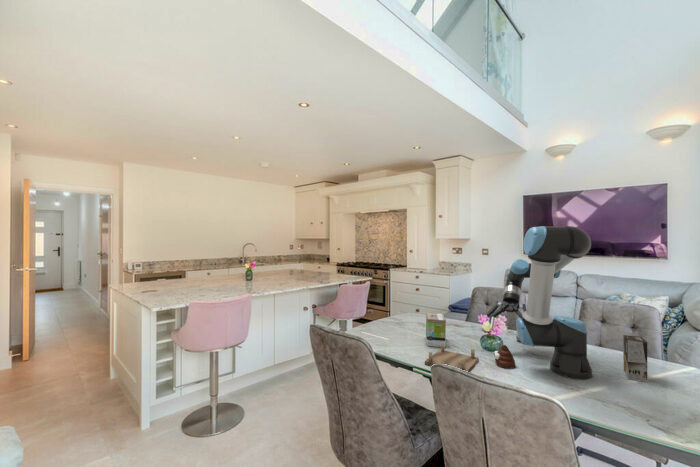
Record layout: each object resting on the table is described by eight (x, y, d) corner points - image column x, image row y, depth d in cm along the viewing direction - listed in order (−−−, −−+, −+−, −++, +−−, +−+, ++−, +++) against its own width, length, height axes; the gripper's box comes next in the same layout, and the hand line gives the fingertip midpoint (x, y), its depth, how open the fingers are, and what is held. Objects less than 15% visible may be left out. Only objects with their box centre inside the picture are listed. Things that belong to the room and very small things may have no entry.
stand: (478, 360, 151) (478, 349, 151) (466, 374, 136) (466, 361, 136) (439, 352, 162) (439, 341, 162) (424, 364, 147) (424, 352, 147)
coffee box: (648, 382, 128) (647, 342, 128) (627, 379, 131) (626, 339, 131) (642, 374, 135) (642, 336, 136) (623, 371, 139) (622, 334, 139)
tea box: (446, 347, 169) (445, 319, 169) (426, 346, 171) (426, 318, 171) (443, 338, 184) (443, 313, 184) (425, 337, 186) (425, 312, 186)
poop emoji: (516, 370, 140) (516, 349, 140) (495, 367, 143) (495, 346, 143) (513, 361, 150) (513, 341, 150) (493, 359, 153) (493, 340, 153)
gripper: (540, 303, 161) (536, 340, 149) (487, 297, 176) (480, 331, 164) (538, 294, 157) (534, 332, 144) (485, 289, 172) (477, 323, 159)
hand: (506, 331), depth 154 cm, fingers open, 13 cm apart
